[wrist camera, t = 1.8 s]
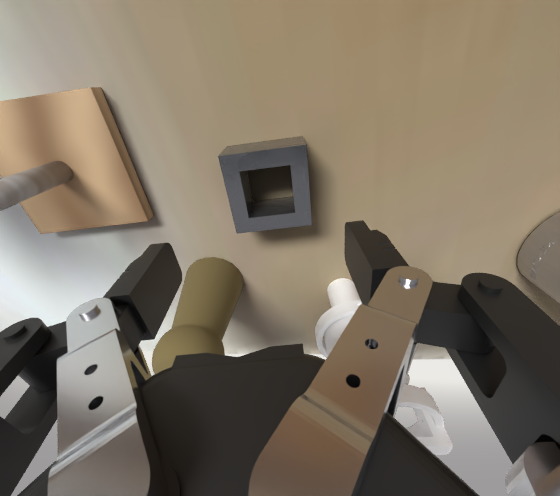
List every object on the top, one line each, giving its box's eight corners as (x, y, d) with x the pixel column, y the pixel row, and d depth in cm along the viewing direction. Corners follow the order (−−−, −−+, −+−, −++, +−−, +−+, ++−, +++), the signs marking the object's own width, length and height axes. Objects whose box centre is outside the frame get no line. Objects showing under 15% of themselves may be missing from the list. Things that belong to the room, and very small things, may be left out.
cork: (249, 297, 29) (236, 397, 20) (198, 305, 30) (161, 406, 20) (233, 252, 26) (208, 345, 16) (176, 262, 26) (120, 358, 17)
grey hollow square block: (302, 136, 20) (306, 144, 17) (307, 207, 23) (311, 224, 20) (226, 146, 21) (218, 156, 18) (242, 215, 24) (236, 233, 21)
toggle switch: (100, 87, 18) (-8, 86, 12) (153, 215, 24) (101, 268, 17) (-29, 107, 19) (-206, 117, 12) (50, 227, 24) (-42, 283, 17)
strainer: (369, 311, 30) (436, 475, 17) (308, 313, 30) (330, 478, 17) (378, 261, 26) (471, 422, 14) (309, 264, 27) (337, 426, 14)
